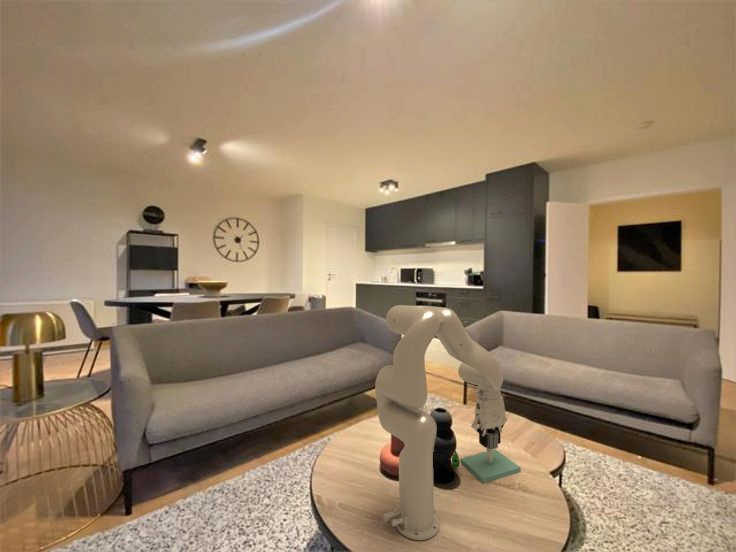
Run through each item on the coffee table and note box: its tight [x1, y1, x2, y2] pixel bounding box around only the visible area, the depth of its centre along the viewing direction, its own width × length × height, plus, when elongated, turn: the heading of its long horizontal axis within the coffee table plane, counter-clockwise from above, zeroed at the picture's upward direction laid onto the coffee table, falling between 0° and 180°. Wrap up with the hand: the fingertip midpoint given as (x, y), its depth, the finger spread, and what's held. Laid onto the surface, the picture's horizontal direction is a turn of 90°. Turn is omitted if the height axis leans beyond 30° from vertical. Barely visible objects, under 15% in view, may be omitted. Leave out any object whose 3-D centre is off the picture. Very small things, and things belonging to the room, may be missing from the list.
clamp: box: [452, 450, 461, 469], centre depth 111 cm, size 12×6×9 cm, turn 85°
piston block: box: [459, 448, 522, 484], centre depth 112 cm, size 16×12×8 cm
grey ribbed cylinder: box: [482, 428, 499, 450], centre depth 112 cm, size 5×5×5 cm
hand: (489, 442), depth 112 cm, fingers closed on grey ribbed cylinder, 5 cm apart
